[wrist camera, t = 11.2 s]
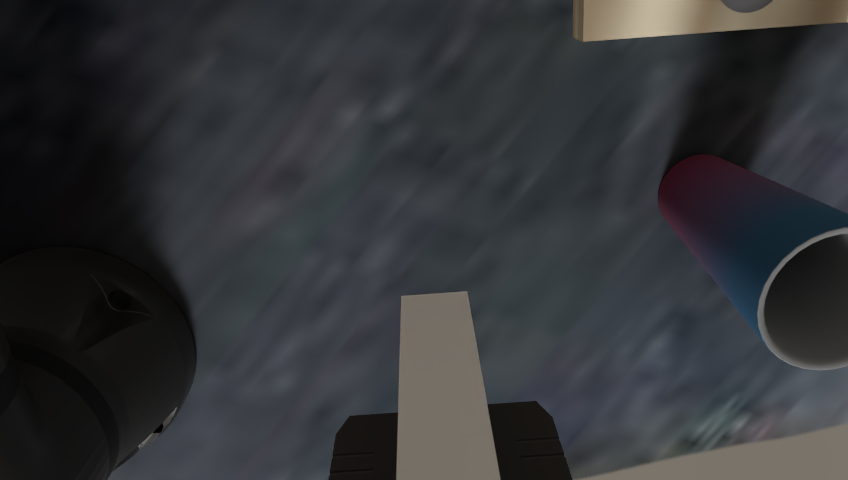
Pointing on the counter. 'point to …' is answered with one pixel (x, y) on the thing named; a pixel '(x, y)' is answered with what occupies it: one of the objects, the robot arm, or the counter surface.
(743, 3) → the black rubber ball
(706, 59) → the counter surface
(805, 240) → the cup
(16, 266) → the robot arm
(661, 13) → the board
